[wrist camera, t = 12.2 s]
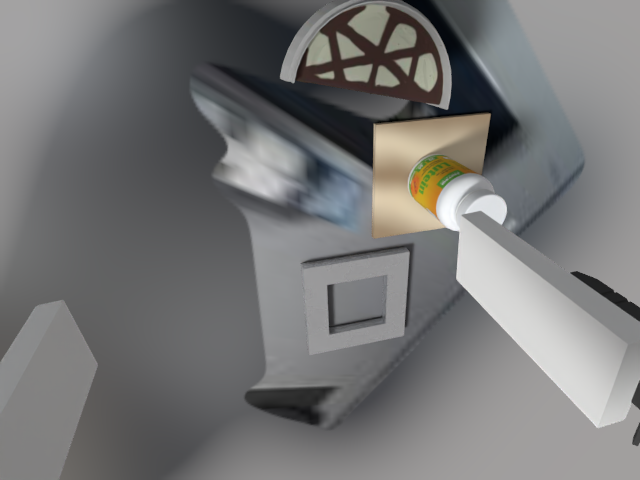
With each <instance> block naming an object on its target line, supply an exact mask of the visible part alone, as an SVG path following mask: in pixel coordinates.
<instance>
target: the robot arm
mask: <svg viewBox="0 0 640 480" xmlns="http://www.w3.org/2000/svg"><path fill="white" fill-rule="evenodd" d="M456 279H457V280H458V281H459V283H460V284H461V285H462V286H463V287H464V288H465V289H466V290H467V291H468V292H469V293H470V294H471V295H472V296H473V297H474V298H475V299H476V300H477V301H478V303H479V304H480V305H481V306H482V307H483V308H484V309H485V310H486V311H487V312H488V313H489V314H490V315H491V316H492V317H493V318H494V319H495V320H496V321H497V322H498V324H499V325H500V326H501V327H502V328H503V329H504V330H505V331H506V332H507V333H508V334H509V335H510V336H511V337H512V338H513V339H514V340H515V341H516V343H517V344H518V345H519V346H520V347H521V348H522V349H523V350H524V351H525V352H526V353H527V354H528V355H529V356H530V357H531V358H532V359H533V360H534V361H535V362H536V363H537V364H538V366H539V367H540V368H541V369H542V370H543V371H544V372H545V373H546V374H547V375H548V376H549V377H550V378H551V379H552V380H553V381H554V382H555V383H556V384H557V386H558V387H559V388H560V389H561V390H562V391H563V392H564V393H565V394H566V395H567V396H568V397H569V398H570V399H571V400H572V401H573V403H575V405H576V406H577V407H578V408H579V409H580V410H581V411H582V412H583V413H584V414H585V415H586V416H587V417H588V418H589V419H590V420H591V421H592V422H593V424H594V425H595V426H596V427H597V428H600V427H603V426H606V425H609V424H612V423H616V422H619V421H622V420H625V418H626V416H627V413H628V411H629V408H630V406H631V404H632V403H633V404H634V405H635V406H637V407H638V408H639V409H640V308H639V307H638V306H637V305H635V304H634V303H632V302H628V301H627V299H626V298H625V297H623V296H622V295H620V294H619V293H617V292H616V293H614V290H613V289H611V288H609V287H608V286H607V285H605V284H604V283H602V282H601V281H599V280H598V279H595V278H593V277H590V276H588V275H585V274H583V273H580V272H578V271H576V272H571V273H569V272H568V271H566V270H565V269H563V268H562V267H561V266H559V265H558V264H556V263H555V262H553V261H552V260H550V259H549V258H548V257H546V256H545V255H543V254H542V253H541V252H539V251H538V250H536V249H535V248H533V247H532V246H531V245H529V244H528V243H526V242H525V241H523V240H522V239H521V238H519V237H518V236H516V235H515V234H513V233H512V232H511V231H509V230H508V229H506V228H505V227H503V226H502V225H501V224H499V223H498V222H496V221H495V220H493V219H492V218H491V217H489V216H488V215H486V214H485V213H483V212H482V211H477V212H472V213H468V214H463V215H461V220H460V234H459V248H458V262H457V277H456ZM97 366H98V364H97V362H96V360H95V358H94V356H93V355H92V353H91V351H90V349H89V347H88V345H87V343H86V341H85V339H84V338H83V336H82V334H81V332H80V330H79V328H78V326H77V324H76V323H75V321H74V319H73V317H72V315H71V313H70V312H69V310H68V308H67V306H66V304H65V302H64V300H60V301H56V302H51V303H46V304H41V305H37V306H36V307H35V308H34V310H33V312H32V313H31V315H30V316H29V318H28V319H27V321H26V323H25V324H24V326H23V328H22V329H21V331H20V332H19V334H18V335H17V337H16V339H15V340H14V342H13V343H12V345H11V347H10V348H9V350H8V351H7V353H6V354H5V356H4V358H3V359H2V361H1V363H0V480H59V478H60V474H61V472H62V469H63V466H64V463H65V460H66V457H67V454H68V451H69V448H70V445H71V442H72V439H73V436H74V434H75V430H76V427H77V425H78V421H79V419H80V416H81V413H82V410H83V407H84V404H85V401H86V398H87V395H88V392H89V389H90V386H91V383H92V380H93V378H94V375H95V372H96V369H97ZM639 443H640V423H639V426H638V428H637V430H636V433H635V435H634V437H633V443H632V444H633V445H636V446H638V445H639Z"/></svg>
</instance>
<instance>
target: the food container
mask: <svg viewBox="0 0 640 480" xmlns="http://www.w3.org/2000/svg"><path fill="white" fill-rule="evenodd" d="M280 79H283V80H285V81H289V82H292V83H294V81H295V80H297V81H302V82H306V83H315V84H320V85H327V86H332V87H338V88H344V89H349V90H355V91H361V92H366V93H370V94H378V95H384V96H390V97H395V98H401V99H406V100H411V101H417V102H423V103H427V104H430V105H434V106H437V107H440V108H443V109H447V110H448V105H449V101H450V95H451V84H452V83H451V68H450V63H449V57H448V54H447V52H446V49H445V46H444V44H443V41H442V40H441V38H440V36H439V34H438V32H437V30H436V29H435V27H434V26H433V25H432V24H431V22H430V21H429V20H428V19H427V18H426V17H425V16H424V15H423V14H422V13H421V12H420V11H419V10H417V9H416V8H414V7H412V6H411V5H409V4H407V3H406V2H404V1H402V0H334V1H332V2H330V3H328V4H327V5H325V6H324V7H322V8H321V9H320V10H318V11H317V12H316V13H315V14H313V16H311V17H310V18H309V19H308V20H307V21H306V22H305V23H304V25H303V26H302V27H301V29H300V30H299V31H298V33H297V34H296V36H295V37H294V39H293V41H292V43H291V45H290V47H289V49H288V51H287V54H286V56H285V59H284V62H283V65H282V70H281V75H280Z"/></svg>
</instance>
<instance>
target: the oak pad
mask: <svg viewBox="0 0 640 480" xmlns="http://www.w3.org/2000/svg"><path fill="white" fill-rule="evenodd" d="M490 116H491V114H490V113H478V114H468V115H458V116H447V117H437V118H427V119H417V120H407V121H397V122H386V123H376V124H374V147H373V201H372V237H373V238H381V237H387V236H394V235H400V234H407V233H413V232H420V231H426V230H433V229H439V228H446V226H444V225H443V224H442V223H441V222H440V221H438V220H437V219H436V218H435V217H434V216H433V215H432V214H430V213H429V212H428V211H427V210H426V209H425V208H423V207H422V206H421V205H420V204H419V203H418V202H416V201H415V200H414V199H413V198H412V196H411V195H410V193H409V190H408V177H409V174H410V172H411V170H412V168H413V167H414V165H415V164H416V163H417V162H418V161H419V160H421V159H422V158H424V157H426V156H428V155H432V154H442V155H445V156H447V157H449V158H451V159H453V160H455V161H456V162H458V163H460V164H462V165H464V166H465V167H467V168H469V169H471V170H473V171H474V172H476V173H478V174H480V175H482V169H483V162H484V155H485V149H486V142H487V136H488V129H489V122H490Z"/></svg>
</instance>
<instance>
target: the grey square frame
mask: <svg viewBox="0 0 640 480" xmlns="http://www.w3.org/2000/svg"><path fill="white" fill-rule="evenodd" d="M409 254H410V252H409V250H408V249H407V248H406V247H400V248H394V249H388V250H382V251H376V252H369V253H363V254H357V255H351V256H345V257H338V258H332V259H326V260H320V261H314V262H307V263H301V272H302V285H303V298H304V311H305V324H306V336H307V349H308V352H309V355H312V354H317V353H322V352H327V351H332V350H337V349H342V348H346V347H351V346H356V345H361V344H366V343H371V342H376V341H381V340H385V339H390V338H395V337H400V336H404V326H405V312H406V297H407V283H408V269H409ZM382 275H383V300H382V318H377V319H372V320H367V321H361V322H356V323H351V324H346V325H341V326H336V327H331V328H329V319H328V296H327V285H330V284H336V283H342V282H348V281H353V280H359V279H365V278H371V277H376V276H382Z"/></svg>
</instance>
